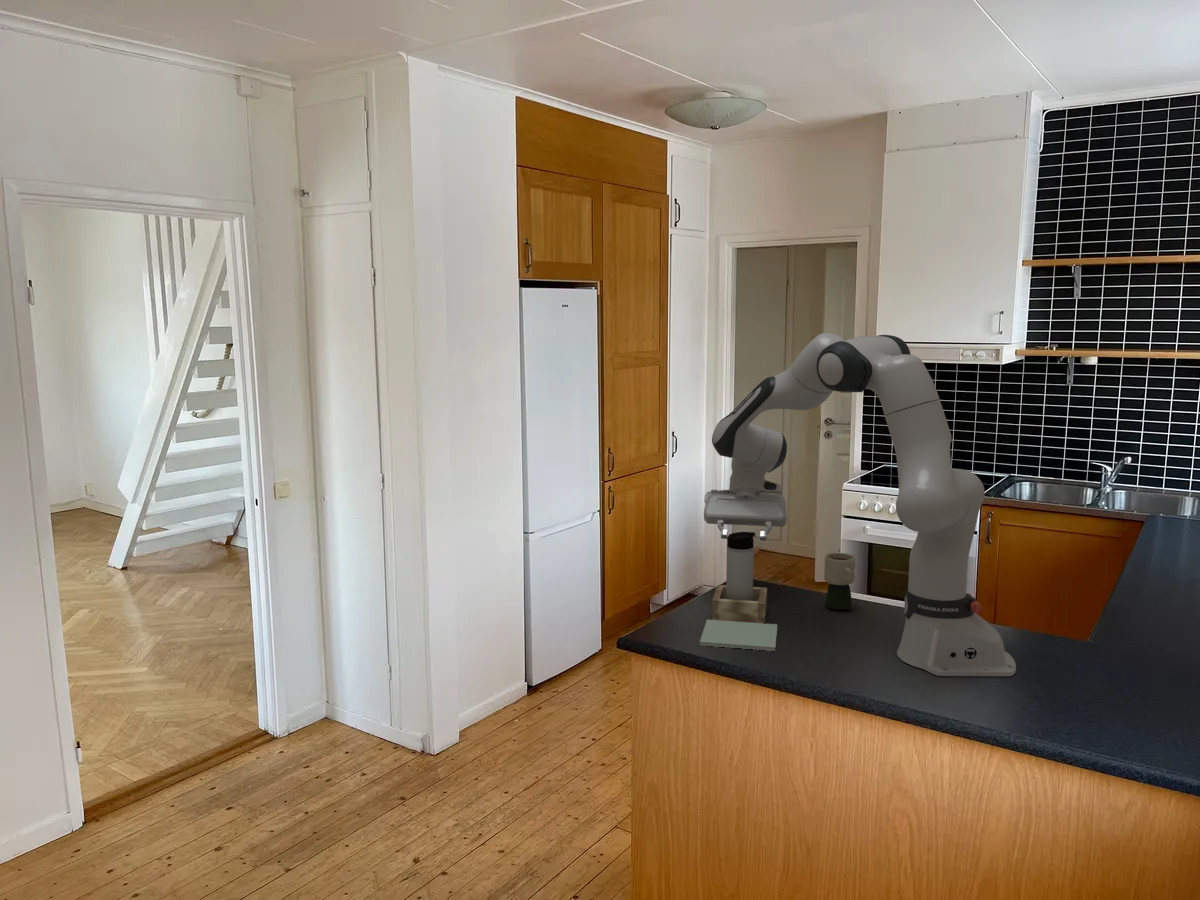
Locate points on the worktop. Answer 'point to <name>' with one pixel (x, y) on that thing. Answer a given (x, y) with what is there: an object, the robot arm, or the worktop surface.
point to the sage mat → (739, 635)
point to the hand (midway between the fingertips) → (743, 538)
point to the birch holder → (739, 606)
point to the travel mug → (740, 566)
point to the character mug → (839, 579)
